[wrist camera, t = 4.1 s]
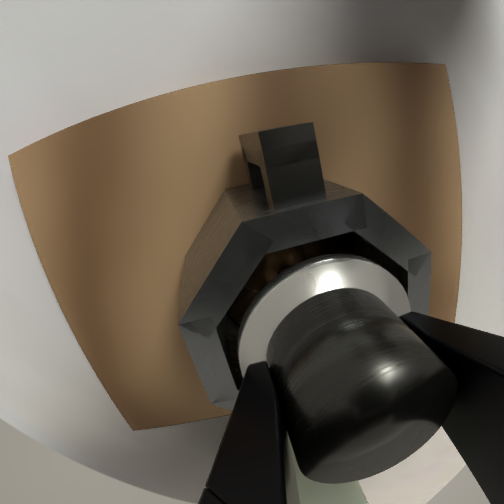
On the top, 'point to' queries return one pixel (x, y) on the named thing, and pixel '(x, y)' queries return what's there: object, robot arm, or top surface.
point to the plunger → (346, 367)
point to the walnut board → (207, 195)
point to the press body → (280, 247)
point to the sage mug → (327, 490)
